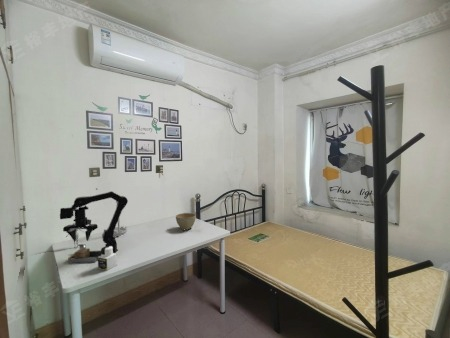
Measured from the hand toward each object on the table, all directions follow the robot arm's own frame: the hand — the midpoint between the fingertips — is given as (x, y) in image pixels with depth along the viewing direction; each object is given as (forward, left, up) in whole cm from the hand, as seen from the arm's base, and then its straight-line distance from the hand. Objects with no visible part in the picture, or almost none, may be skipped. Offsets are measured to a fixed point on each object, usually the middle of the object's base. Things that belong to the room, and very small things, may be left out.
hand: (81, 240), depth 142 cm
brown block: (0, 0, -12) cm, 12 cm away
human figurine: (+16, -20, -12) cm, 28 cm away
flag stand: (-4, -45, -12) cm, 46 cm away
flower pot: (-59, -57, -12) cm, 82 cm away
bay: (-2, -3, -12) cm, 12 cm away
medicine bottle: (-23, +12, -12) cm, 28 cm away
